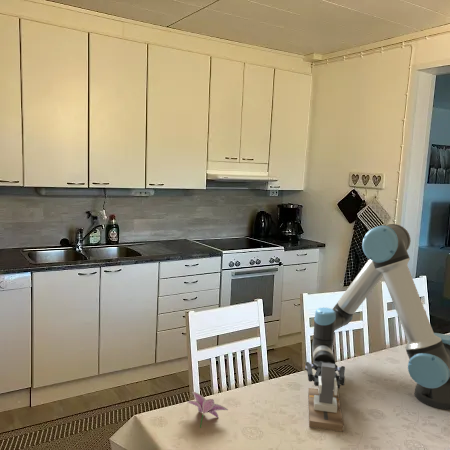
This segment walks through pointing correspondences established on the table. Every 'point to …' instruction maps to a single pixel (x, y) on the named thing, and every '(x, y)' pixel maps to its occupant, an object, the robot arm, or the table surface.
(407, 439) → the table surface
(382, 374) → the table surface
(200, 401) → the lily
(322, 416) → the board
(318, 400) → the slider
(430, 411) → the table surface
